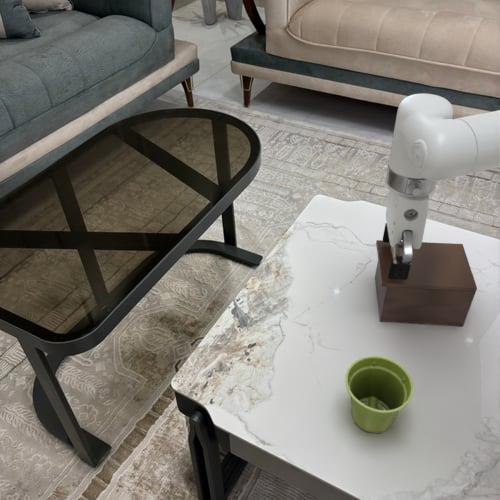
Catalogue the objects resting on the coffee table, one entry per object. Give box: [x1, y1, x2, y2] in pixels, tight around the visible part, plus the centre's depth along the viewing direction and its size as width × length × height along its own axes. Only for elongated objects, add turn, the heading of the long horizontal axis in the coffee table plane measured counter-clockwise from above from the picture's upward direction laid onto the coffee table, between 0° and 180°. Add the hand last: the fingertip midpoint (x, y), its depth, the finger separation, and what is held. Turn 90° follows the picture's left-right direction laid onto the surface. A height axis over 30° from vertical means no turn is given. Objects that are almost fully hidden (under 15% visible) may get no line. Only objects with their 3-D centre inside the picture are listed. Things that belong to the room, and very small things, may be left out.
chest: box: [374, 262, 477, 328], centre depth 91 cm, size 15×12×9 cm
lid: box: [375, 239, 478, 292], centre depth 87 cm, size 16×12×5 cm
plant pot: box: [344, 355, 414, 434], centre depth 74 cm, size 9×9×9 cm
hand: (394, 259), depth 88 cm, fingers open, 9 cm apart
